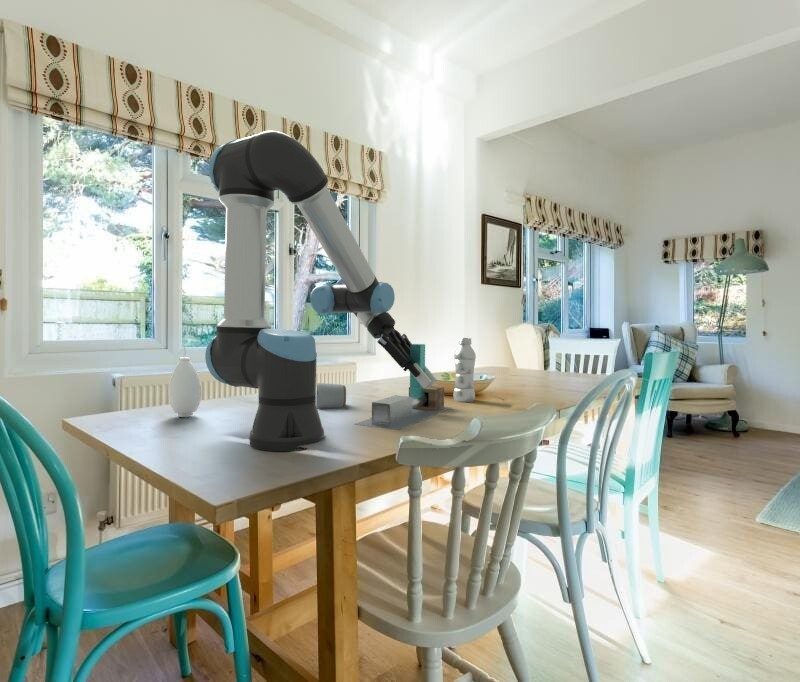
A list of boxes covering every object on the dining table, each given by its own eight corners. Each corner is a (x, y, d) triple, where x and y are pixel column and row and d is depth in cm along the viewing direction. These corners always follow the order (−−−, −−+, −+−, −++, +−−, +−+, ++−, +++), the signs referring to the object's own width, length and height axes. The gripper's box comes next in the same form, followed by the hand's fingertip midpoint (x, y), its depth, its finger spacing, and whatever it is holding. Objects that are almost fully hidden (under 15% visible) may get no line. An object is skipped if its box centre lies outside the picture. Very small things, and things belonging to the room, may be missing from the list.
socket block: (435, 410, 138) (435, 389, 137) (408, 408, 141) (408, 387, 141) (444, 407, 143) (444, 386, 143) (418, 404, 147) (418, 384, 146)
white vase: (201, 413, 137) (200, 346, 136) (201, 418, 129) (200, 347, 128) (169, 414, 134) (168, 346, 133) (167, 420, 126) (166, 348, 125)
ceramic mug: (346, 411, 140) (347, 384, 140) (316, 412, 139) (316, 384, 139) (342, 405, 151) (343, 379, 151) (314, 406, 149) (315, 380, 149)
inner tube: (403, 413, 126) (404, 346, 125) (393, 412, 128) (393, 346, 127) (431, 403, 141) (431, 343, 140) (421, 402, 143) (422, 343, 142)
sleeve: (389, 426, 118) (389, 404, 118) (371, 424, 120) (371, 402, 120) (412, 417, 128) (412, 396, 128) (395, 415, 131) (395, 395, 130)
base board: (399, 434, 114) (399, 429, 114) (354, 428, 120) (354, 424, 120) (451, 411, 143) (451, 407, 143) (413, 407, 148) (413, 403, 148)
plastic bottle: (463, 401, 160) (464, 337, 159) (479, 404, 154) (480, 338, 153) (448, 403, 156) (449, 337, 155) (464, 406, 150) (465, 338, 149)
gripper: (382, 328, 150) (433, 389, 143) (352, 330, 135) (407, 397, 129) (398, 311, 147) (451, 371, 140) (370, 310, 133) (427, 377, 126)
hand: (430, 383), depth 135 cm, fingers closed on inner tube, 3 cm apart
